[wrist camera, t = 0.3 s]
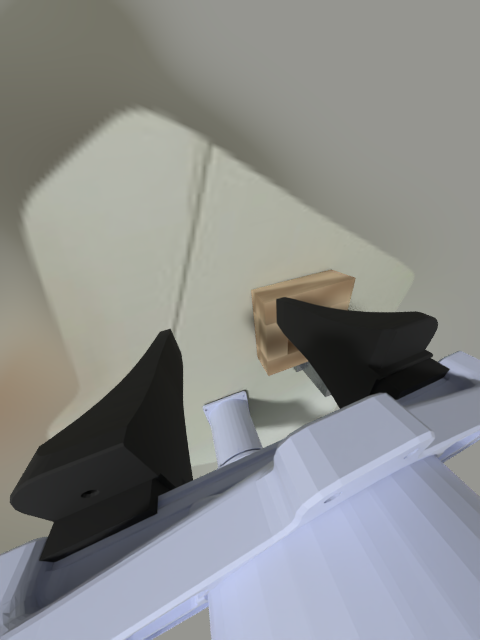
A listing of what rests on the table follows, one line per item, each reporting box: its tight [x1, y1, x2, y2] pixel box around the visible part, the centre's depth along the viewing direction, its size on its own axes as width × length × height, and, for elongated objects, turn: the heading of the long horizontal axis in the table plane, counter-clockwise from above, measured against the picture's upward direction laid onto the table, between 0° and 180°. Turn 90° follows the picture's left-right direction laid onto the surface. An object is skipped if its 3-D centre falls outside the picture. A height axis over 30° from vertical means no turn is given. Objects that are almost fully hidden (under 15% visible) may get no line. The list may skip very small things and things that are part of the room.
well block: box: [251, 270, 356, 376], centre depth 25 cm, size 12×12×4 cm
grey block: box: [294, 362, 331, 397], centre depth 29 cm, size 4×4×7 cm
